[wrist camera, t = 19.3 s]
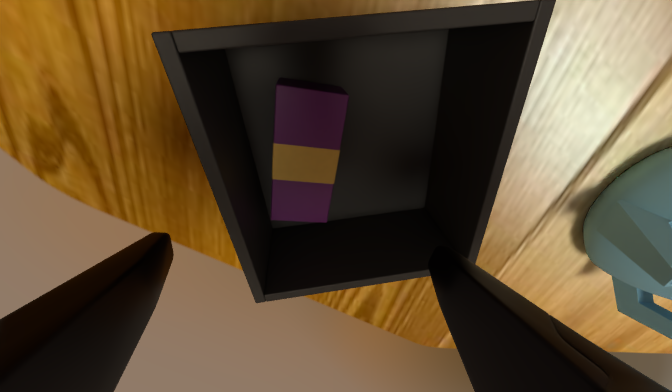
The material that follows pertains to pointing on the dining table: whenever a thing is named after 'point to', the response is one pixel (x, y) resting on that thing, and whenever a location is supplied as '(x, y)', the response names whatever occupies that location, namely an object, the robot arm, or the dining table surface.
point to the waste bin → (361, 134)
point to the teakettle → (636, 239)
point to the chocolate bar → (305, 148)
